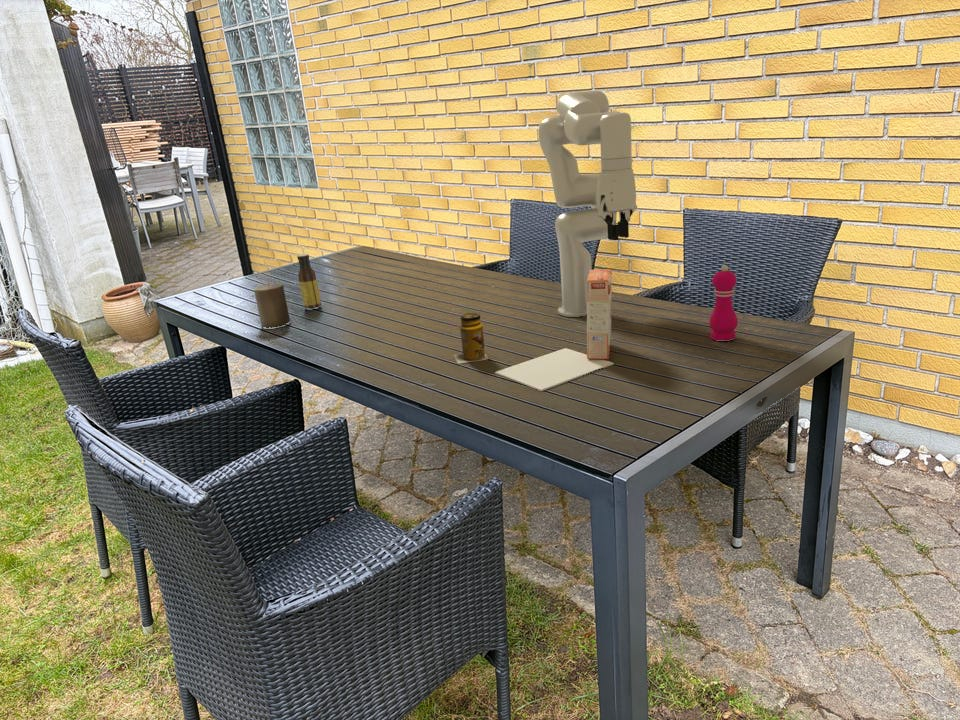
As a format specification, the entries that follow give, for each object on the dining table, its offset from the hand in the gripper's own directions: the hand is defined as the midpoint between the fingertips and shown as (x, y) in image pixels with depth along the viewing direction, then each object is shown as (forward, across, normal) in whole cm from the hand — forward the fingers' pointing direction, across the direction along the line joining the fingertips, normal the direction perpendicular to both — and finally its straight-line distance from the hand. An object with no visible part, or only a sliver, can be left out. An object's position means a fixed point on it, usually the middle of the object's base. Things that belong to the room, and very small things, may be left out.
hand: (618, 237), depth 189 cm
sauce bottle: (+29, +40, -114) cm, 124 cm away
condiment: (+30, +33, -24) cm, 50 cm away
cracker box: (+29, +8, 0) cm, 30 cm away
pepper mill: (+29, -21, +17) cm, 40 cm away
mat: (+29, +24, 0) cm, 38 cm away
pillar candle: (+30, +58, -104) cm, 123 cm away
